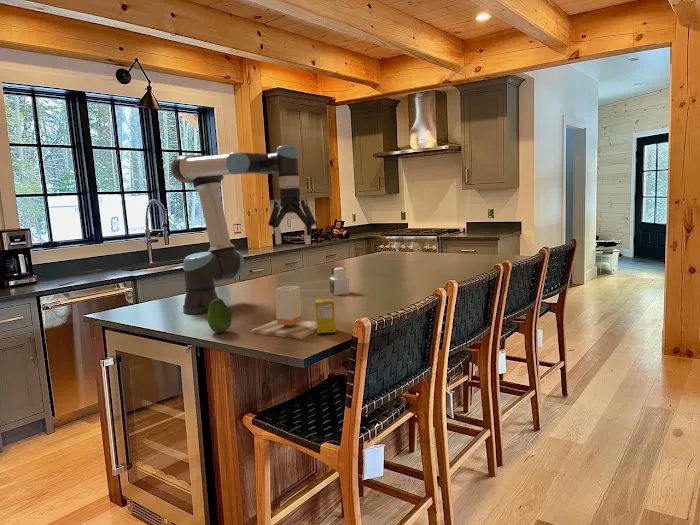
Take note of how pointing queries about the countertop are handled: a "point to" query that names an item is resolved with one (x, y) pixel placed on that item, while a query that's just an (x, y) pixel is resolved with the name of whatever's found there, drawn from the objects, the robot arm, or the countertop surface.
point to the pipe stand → (287, 329)
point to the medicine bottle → (339, 281)
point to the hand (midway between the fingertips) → (293, 244)
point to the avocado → (218, 316)
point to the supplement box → (325, 316)
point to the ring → (289, 321)
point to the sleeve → (288, 302)
